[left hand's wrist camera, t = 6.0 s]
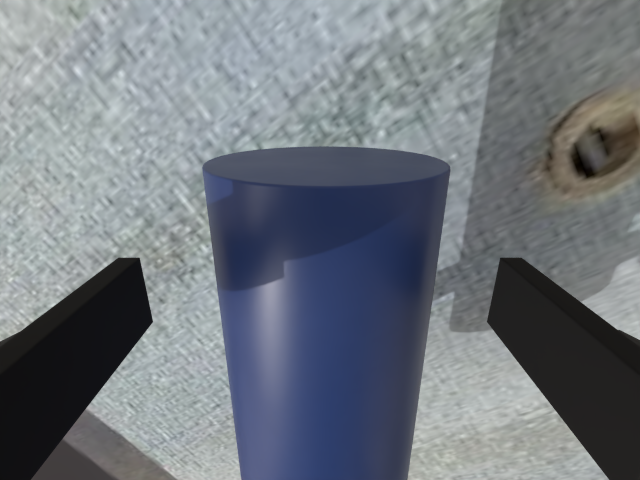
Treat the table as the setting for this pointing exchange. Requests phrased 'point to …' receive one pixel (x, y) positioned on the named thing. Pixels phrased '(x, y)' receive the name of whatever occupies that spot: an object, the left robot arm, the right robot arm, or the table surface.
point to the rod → (325, 304)
